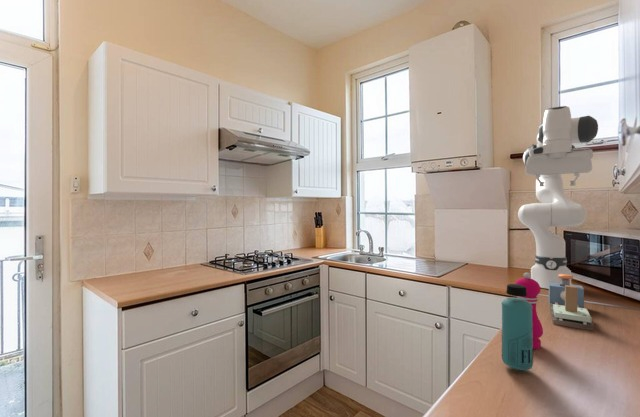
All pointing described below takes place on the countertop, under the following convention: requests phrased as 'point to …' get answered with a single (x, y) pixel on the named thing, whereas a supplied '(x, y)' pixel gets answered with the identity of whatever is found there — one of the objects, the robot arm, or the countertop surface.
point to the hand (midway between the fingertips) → (556, 186)
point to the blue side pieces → (559, 294)
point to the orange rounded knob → (565, 279)
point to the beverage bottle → (517, 329)
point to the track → (570, 322)
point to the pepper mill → (532, 298)
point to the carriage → (571, 307)
